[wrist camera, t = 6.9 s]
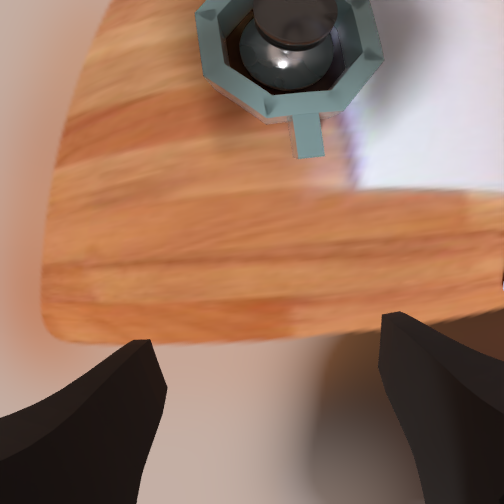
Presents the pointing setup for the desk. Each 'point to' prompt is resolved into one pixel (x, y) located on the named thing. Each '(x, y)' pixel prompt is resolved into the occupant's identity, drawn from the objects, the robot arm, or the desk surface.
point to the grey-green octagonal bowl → (295, 104)
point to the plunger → (289, 42)
